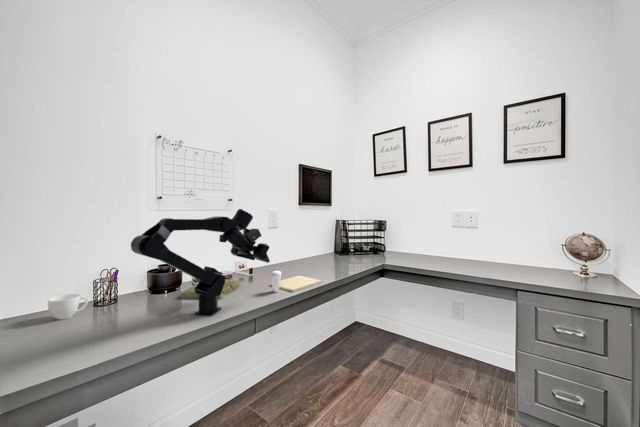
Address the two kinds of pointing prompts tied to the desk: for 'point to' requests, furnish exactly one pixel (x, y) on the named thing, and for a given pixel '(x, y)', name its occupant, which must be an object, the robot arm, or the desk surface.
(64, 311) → the cup
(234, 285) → the olive green cushion
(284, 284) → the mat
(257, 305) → the desk surface
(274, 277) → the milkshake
